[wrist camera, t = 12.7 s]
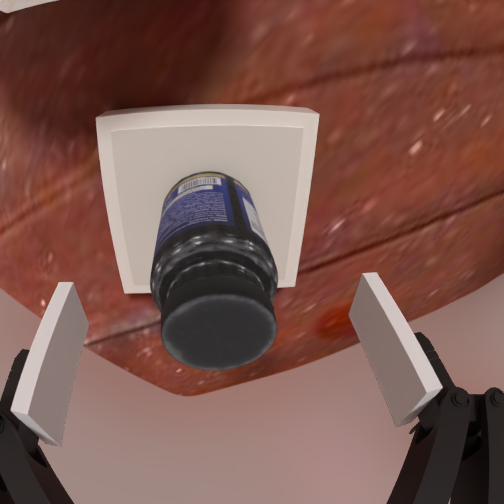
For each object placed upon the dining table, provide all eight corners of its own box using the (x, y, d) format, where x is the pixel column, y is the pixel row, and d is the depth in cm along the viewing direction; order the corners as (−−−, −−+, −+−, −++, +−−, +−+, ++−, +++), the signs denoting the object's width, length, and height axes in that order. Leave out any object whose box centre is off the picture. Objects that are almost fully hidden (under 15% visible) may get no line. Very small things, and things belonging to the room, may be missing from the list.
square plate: (106, 110, 19) (95, 118, 16) (307, 107, 21) (320, 114, 18) (129, 274, 26) (124, 294, 24) (287, 268, 28) (295, 287, 26)
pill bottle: (153, 235, 22) (130, 366, 13) (179, 155, 19) (159, 258, 10) (234, 258, 24) (257, 386, 15) (268, 185, 21) (323, 299, 12)
